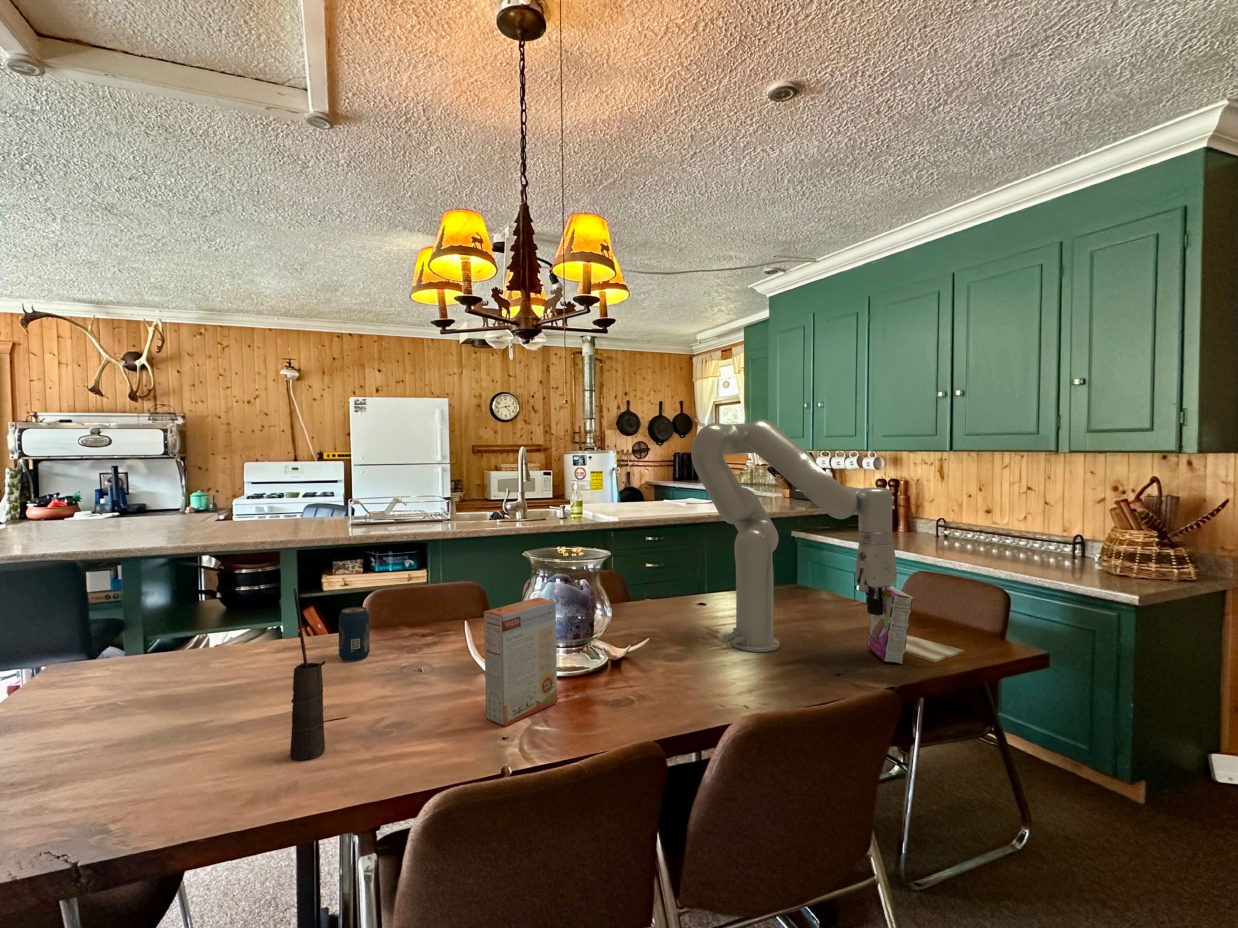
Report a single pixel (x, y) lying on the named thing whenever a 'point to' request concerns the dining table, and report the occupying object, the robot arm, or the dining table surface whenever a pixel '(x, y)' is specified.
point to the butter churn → (307, 705)
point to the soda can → (354, 634)
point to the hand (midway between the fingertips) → (875, 613)
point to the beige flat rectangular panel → (929, 649)
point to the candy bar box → (891, 627)
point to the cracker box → (520, 660)
